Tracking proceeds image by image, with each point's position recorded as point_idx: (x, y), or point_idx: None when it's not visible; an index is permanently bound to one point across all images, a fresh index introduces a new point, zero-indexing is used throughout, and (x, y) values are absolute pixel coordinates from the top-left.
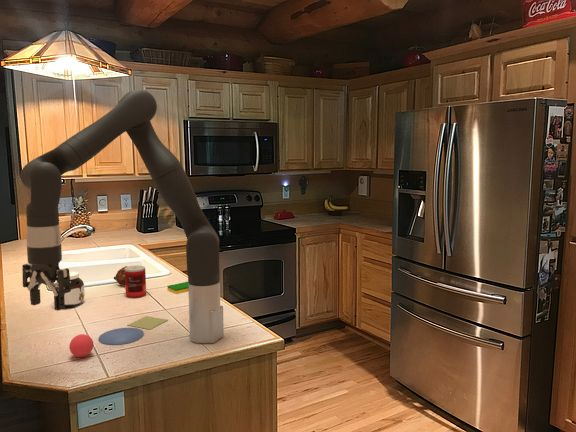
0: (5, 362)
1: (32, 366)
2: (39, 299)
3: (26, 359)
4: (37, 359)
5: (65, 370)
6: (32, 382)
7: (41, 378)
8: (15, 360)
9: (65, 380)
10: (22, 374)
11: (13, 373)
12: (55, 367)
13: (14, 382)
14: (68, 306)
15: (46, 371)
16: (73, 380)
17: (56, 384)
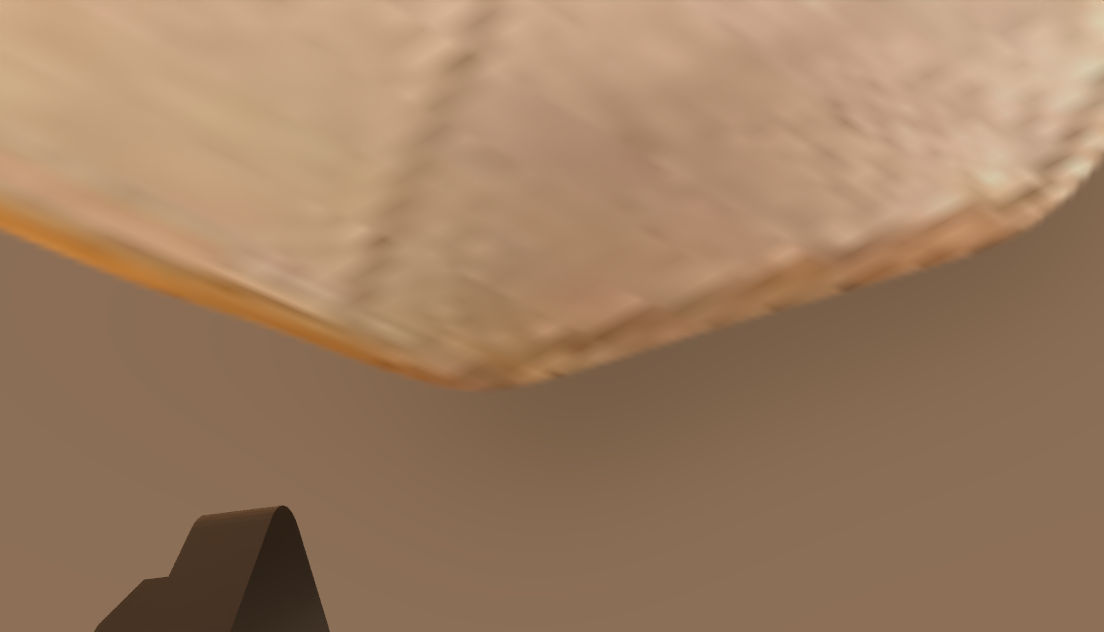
0: (40, 237)
1: (347, 145)
2: (258, 592)
3: (121, 89)
4: (213, 24)
5: (721, 16)
6: (663, 309)
7: (664, 233)
8: (62, 163)
9: (898, 141)
10: (441, 279)
11: (354, 310)
12: (567, 32)
13: (532, 381)
14: None
15: (572, 132)
16: (970, 101)
17: (884, 225)
